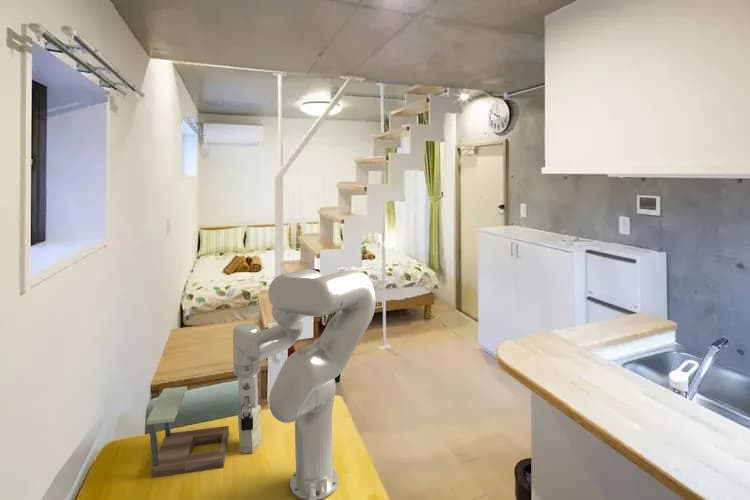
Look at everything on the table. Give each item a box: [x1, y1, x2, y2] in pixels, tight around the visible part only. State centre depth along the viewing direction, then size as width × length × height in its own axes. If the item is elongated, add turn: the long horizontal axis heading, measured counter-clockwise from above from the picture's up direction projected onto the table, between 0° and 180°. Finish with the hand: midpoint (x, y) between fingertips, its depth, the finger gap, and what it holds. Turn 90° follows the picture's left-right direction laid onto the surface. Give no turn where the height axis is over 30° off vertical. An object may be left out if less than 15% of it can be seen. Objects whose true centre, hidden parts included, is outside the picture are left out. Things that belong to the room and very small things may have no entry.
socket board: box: [145, 386, 230, 479], centre depth 119 cm, size 18×18×17 cm
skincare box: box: [237, 404, 263, 454], centre depth 124 cm, size 6×4×12 cm
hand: (248, 420), depth 124 cm, fingers open, 9 cm apart
